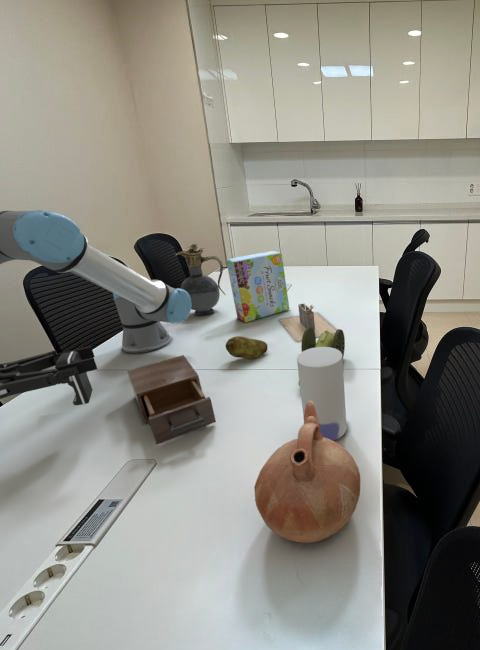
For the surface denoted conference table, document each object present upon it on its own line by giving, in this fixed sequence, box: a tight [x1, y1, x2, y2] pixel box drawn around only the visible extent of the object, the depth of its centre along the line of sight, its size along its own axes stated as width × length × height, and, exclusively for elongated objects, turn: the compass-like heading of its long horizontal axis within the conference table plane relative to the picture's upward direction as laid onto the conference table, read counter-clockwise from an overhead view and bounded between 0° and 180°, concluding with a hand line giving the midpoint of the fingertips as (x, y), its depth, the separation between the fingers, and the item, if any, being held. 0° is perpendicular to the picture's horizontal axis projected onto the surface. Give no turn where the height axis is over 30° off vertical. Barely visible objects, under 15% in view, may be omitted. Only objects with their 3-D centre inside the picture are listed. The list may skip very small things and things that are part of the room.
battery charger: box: [54, 351, 94, 406], centre depth 88 cm, size 7×4×11 cm, turn 26°
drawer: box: [143, 380, 217, 445], centre depth 94 cm, size 19×13×7 cm
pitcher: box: [175, 243, 226, 316], centre depth 167 cm, size 11×19×30 cm, turn 118°
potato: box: [225, 335, 268, 360], centre depth 129 cm, size 8×13×8 cm, turn 102°
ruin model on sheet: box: [279, 303, 337, 342], centre depth 153 cm, size 25×16×10 cm, turn 27°
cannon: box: [298, 328, 346, 387], centre depth 119 cm, size 25×12×11 cm, turn 168°
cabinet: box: [126, 354, 203, 424], centre depth 106 cm, size 16×15×9 cm
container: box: [296, 347, 348, 442], centre depth 90 cm, size 10×10×20 cm
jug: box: [253, 401, 361, 544], centre depth 67 cm, size 18×18×20 cm
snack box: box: [225, 250, 290, 324], centre depth 164 cm, size 22×9×26 cm, turn 133°
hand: (93, 357), depth 90 cm, fingers closed on battery charger, 7 cm apart
